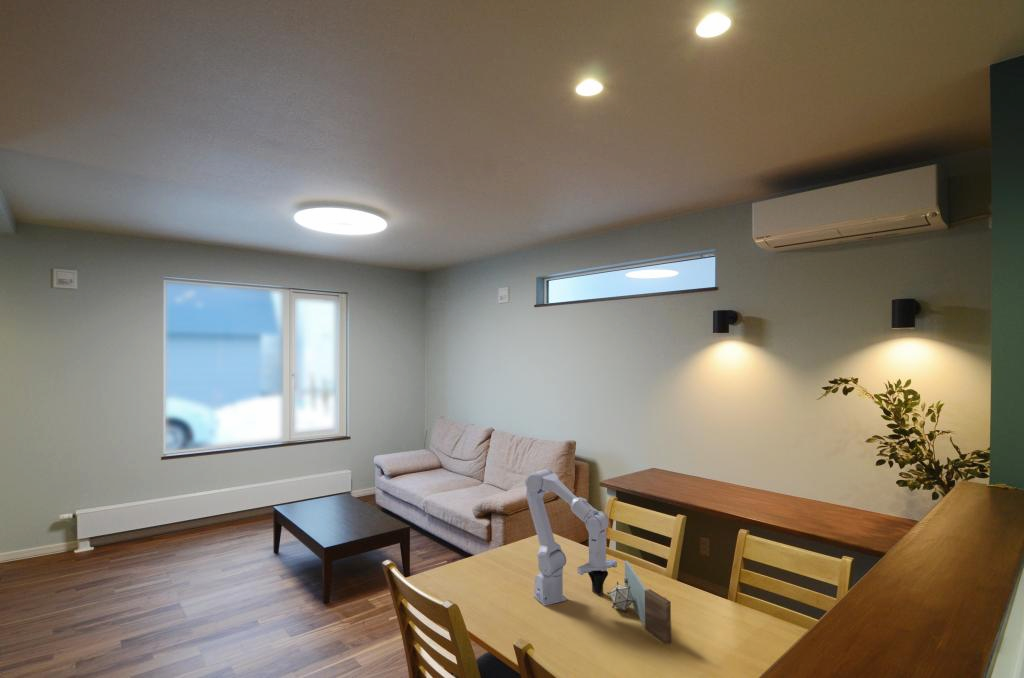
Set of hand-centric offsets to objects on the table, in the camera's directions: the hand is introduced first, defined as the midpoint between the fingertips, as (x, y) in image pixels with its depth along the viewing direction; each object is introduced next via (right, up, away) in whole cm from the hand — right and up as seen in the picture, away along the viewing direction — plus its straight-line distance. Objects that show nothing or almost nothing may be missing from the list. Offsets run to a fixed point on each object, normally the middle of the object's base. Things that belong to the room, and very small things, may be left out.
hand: (597, 592), depth 168 cm
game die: (+9, -7, +3) cm, 12 cm away
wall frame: (+10, -7, -1) cm, 12 cm away
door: (+13, -7, +3) cm, 15 cm away
